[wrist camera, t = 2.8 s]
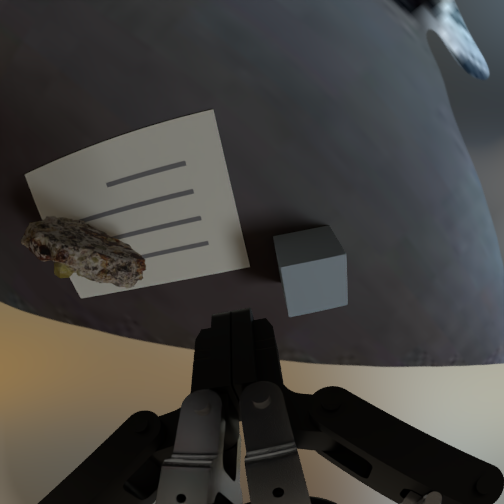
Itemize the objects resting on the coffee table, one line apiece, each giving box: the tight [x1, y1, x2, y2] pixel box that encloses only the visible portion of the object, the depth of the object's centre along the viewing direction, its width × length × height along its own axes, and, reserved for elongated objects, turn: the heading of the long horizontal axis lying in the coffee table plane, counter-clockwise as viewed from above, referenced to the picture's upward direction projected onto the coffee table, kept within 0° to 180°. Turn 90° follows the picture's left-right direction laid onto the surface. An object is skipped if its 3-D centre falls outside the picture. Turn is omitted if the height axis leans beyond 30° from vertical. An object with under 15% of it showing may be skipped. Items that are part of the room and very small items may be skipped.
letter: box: [25, 109, 250, 298], centre depth 26 cm, size 14×18×1 cm
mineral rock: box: [21, 216, 146, 288], centre depth 22 cm, size 11×4×8 cm, turn 67°
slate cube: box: [273, 225, 348, 317], centre depth 27 cm, size 5×5×5 cm
